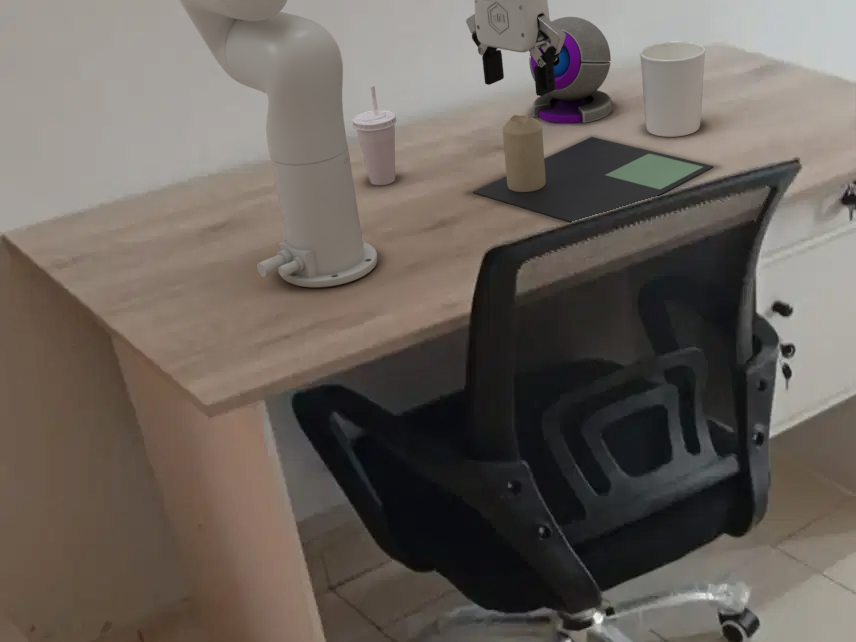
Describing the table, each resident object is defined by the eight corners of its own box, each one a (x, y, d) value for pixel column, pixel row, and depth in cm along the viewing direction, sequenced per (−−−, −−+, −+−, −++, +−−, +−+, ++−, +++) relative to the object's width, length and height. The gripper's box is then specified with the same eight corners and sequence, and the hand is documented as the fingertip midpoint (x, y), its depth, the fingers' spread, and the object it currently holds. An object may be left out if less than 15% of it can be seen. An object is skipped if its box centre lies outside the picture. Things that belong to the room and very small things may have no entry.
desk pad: (594, 229, 163) (594, 228, 163) (472, 192, 177) (472, 191, 177) (713, 167, 178) (713, 165, 178) (591, 137, 192) (591, 136, 192)
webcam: (518, 119, 202) (511, 26, 194) (557, 95, 211) (552, 4, 203) (589, 128, 196) (585, 31, 188) (626, 102, 205) (623, 9, 197)
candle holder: (703, 138, 188) (703, 59, 182) (638, 139, 190) (636, 61, 184) (707, 116, 196) (707, 40, 190) (644, 117, 198) (643, 41, 192)
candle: (552, 180, 178) (548, 112, 173) (533, 194, 174) (528, 125, 169) (520, 175, 181) (515, 108, 176) (500, 189, 177) (494, 121, 172)
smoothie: (413, 177, 184) (401, 84, 177) (381, 191, 181) (367, 97, 173) (384, 169, 188) (371, 77, 181) (352, 183, 185) (337, 90, 177)
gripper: (441, -42, 164) (456, 85, 174) (537, -29, 153) (547, 106, 163) (481, -55, 168) (494, 70, 178) (577, -44, 158) (585, 89, 167)
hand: (519, 87), depth 170 cm, fingers open, 9 cm apart
